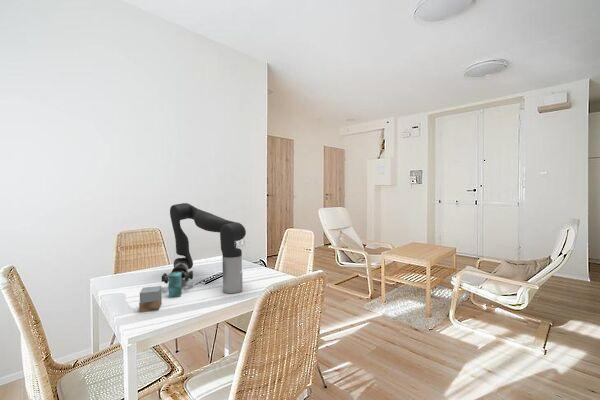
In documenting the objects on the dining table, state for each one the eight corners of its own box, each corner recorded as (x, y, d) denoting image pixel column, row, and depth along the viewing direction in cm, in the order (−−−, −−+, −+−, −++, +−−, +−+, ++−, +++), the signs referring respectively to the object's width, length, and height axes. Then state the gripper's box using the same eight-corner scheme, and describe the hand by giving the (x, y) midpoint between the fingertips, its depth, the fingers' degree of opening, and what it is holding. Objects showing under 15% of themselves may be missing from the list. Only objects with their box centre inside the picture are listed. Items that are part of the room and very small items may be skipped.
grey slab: (161, 294, 120) (161, 285, 120) (159, 300, 113) (159, 291, 113) (143, 296, 118) (143, 287, 118) (139, 303, 111) (139, 293, 111)
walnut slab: (161, 304, 120) (161, 294, 120) (158, 310, 113) (158, 301, 113) (143, 306, 118) (143, 296, 118) (139, 312, 111) (139, 303, 111)
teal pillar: (181, 292, 133) (181, 272, 132) (180, 296, 128) (180, 275, 128) (170, 294, 131) (170, 273, 131) (168, 297, 126) (168, 276, 126)
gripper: (165, 265, 145) (159, 274, 130) (194, 263, 149) (191, 271, 134) (165, 279, 145) (159, 290, 130) (194, 277, 150) (192, 286, 134)
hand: (176, 280), depth 132 cm, fingers open, 8 cm apart
